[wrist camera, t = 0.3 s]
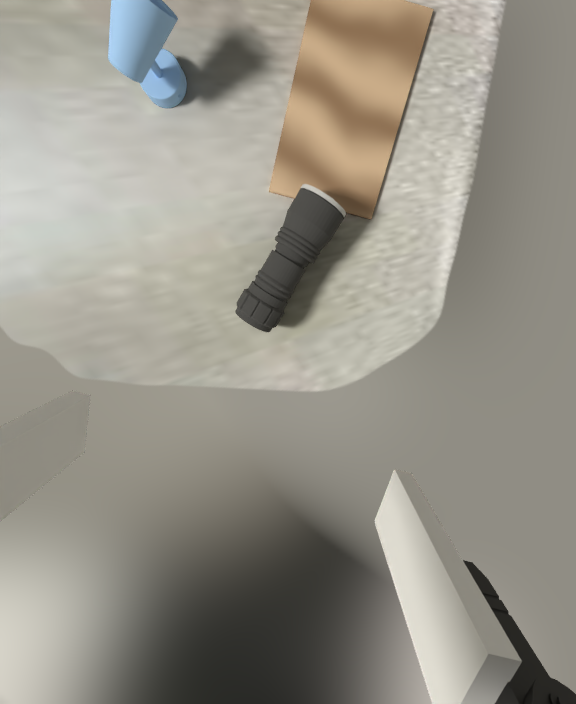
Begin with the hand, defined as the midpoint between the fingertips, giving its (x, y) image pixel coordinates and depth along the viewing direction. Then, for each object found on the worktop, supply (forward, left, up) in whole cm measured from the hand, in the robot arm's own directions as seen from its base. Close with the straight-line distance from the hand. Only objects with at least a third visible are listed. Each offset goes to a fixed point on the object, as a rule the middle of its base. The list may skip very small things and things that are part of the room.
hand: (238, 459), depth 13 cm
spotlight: (-25, -18, -27) cm, 40 cm away
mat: (-27, +1, -26) cm, 37 cm away
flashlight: (-10, -1, -26) cm, 28 cm away
